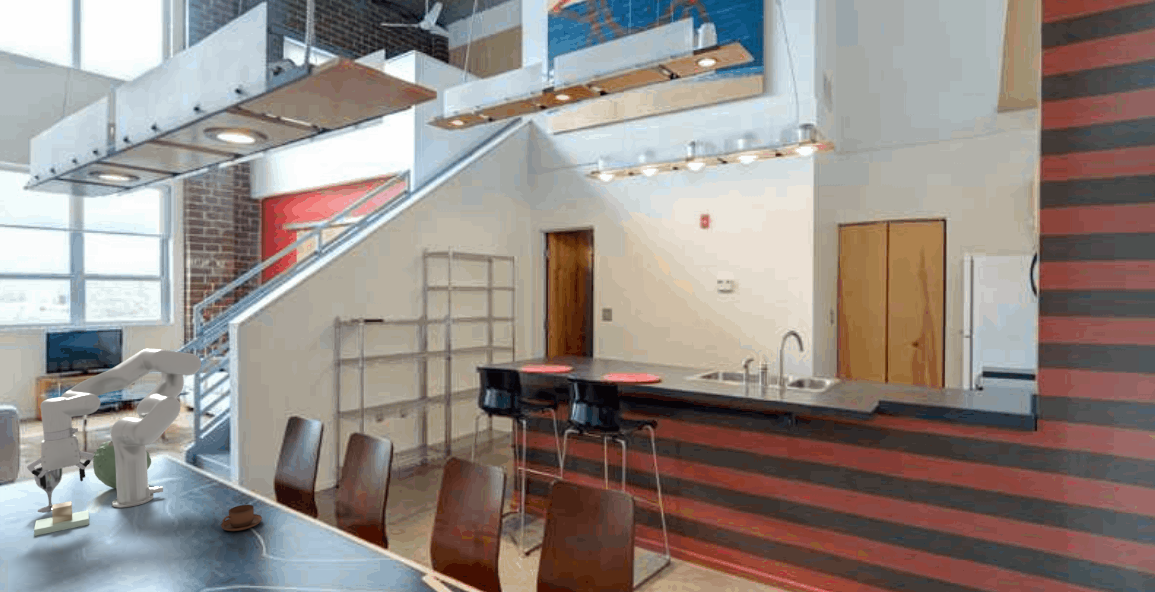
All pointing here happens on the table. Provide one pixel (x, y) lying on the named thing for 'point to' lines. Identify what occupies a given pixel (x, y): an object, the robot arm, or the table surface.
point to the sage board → (61, 523)
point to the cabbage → (108, 464)
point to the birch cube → (62, 512)
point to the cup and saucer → (241, 518)
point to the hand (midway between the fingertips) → (63, 483)
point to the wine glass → (49, 485)
